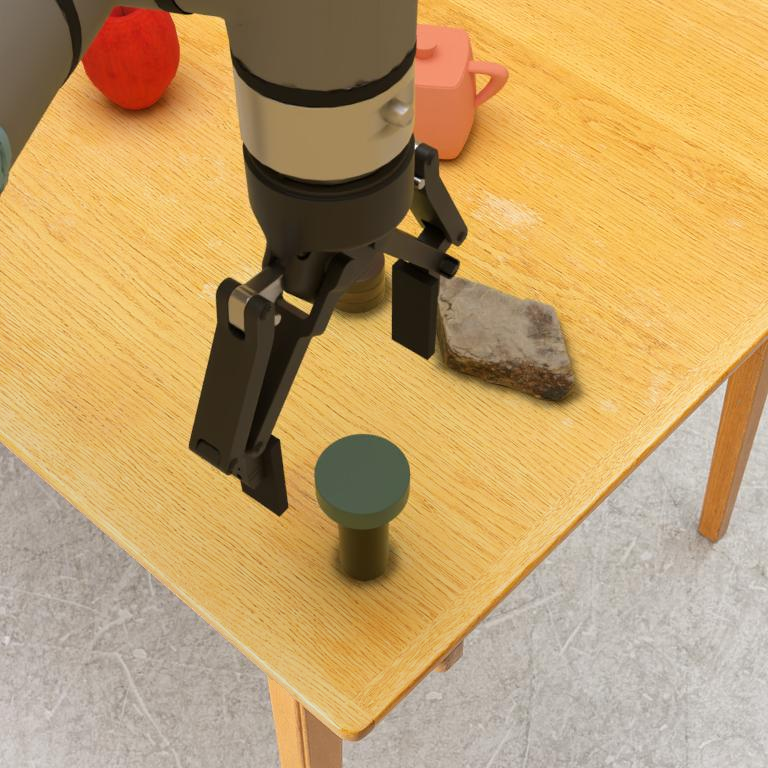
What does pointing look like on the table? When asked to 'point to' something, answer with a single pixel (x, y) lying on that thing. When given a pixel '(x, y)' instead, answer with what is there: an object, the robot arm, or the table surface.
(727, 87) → the table surface
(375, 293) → the chip pile
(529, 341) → the stone
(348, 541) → the black cylinder
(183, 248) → the table surface
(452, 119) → the teapot
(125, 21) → the apple
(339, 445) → the green chip
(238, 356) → the robot arm
